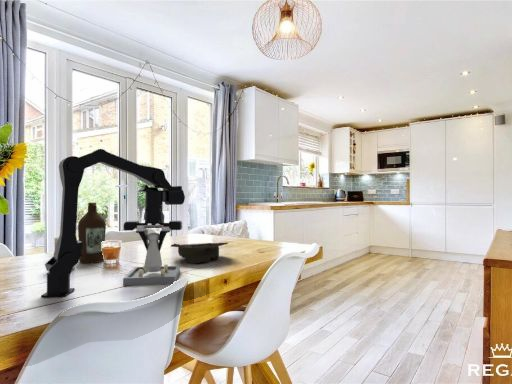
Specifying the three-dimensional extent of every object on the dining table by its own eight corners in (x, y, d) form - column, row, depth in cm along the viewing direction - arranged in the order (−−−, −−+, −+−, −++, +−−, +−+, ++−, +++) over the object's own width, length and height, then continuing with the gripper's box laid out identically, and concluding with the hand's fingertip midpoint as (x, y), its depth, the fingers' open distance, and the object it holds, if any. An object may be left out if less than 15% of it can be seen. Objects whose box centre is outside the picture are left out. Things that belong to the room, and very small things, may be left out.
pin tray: (174, 283, 105) (174, 272, 105) (123, 285, 103) (123, 273, 103) (179, 271, 121) (179, 261, 121) (135, 272, 119) (135, 262, 119)
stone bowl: (198, 268, 126) (197, 244, 126) (158, 264, 141) (157, 243, 141) (239, 257, 146) (238, 236, 146) (201, 255, 161) (199, 236, 161)
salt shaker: (141, 270, 112) (141, 233, 112) (156, 268, 116) (157, 231, 116) (149, 273, 108) (149, 234, 108) (165, 271, 112) (165, 233, 112)
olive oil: (74, 261, 139) (74, 202, 139) (100, 257, 146) (100, 202, 147) (82, 265, 131) (82, 203, 132) (109, 261, 139) (109, 202, 139)
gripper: (183, 204, 121) (183, 246, 121) (131, 204, 119) (131, 247, 119) (180, 205, 110) (180, 251, 110) (123, 205, 108) (122, 252, 108)
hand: (153, 250), depth 112 cm, fingers closed on salt shaker, 4 cm apart
